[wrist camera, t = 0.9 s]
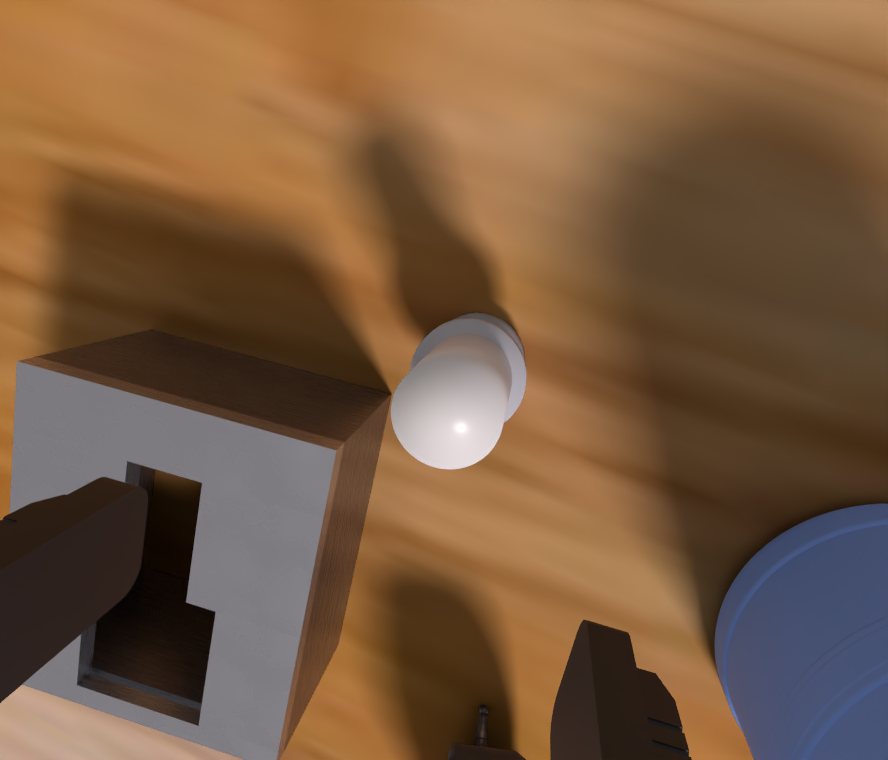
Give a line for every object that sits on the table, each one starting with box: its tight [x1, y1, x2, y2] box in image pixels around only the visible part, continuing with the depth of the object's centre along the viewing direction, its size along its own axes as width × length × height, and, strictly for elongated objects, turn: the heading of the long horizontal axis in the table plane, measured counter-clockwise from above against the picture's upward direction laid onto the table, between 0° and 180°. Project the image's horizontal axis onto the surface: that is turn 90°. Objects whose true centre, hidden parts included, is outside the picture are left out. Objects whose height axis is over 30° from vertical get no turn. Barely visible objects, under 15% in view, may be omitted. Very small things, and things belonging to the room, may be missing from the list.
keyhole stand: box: [10, 330, 392, 760], centre depth 31 cm, size 16×14×9 cm
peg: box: [391, 313, 527, 469], centre depth 27 cm, size 5×5×10 cm
